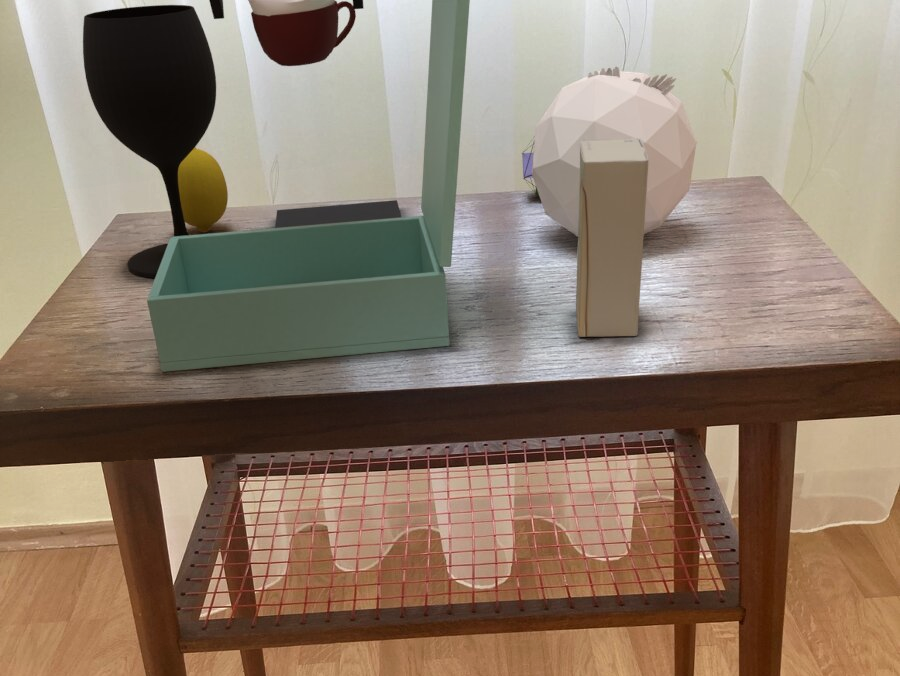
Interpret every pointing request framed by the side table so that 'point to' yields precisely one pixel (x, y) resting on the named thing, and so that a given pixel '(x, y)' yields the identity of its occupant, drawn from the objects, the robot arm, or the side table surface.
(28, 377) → the side table surface
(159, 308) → the teal open box
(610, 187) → the cosmetic box
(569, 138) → the geodesic sphere
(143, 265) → the wine glass
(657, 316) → the side table surface
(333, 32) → the cocoa
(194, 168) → the lemon
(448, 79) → the lid
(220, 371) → the side table surface
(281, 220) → the mat
